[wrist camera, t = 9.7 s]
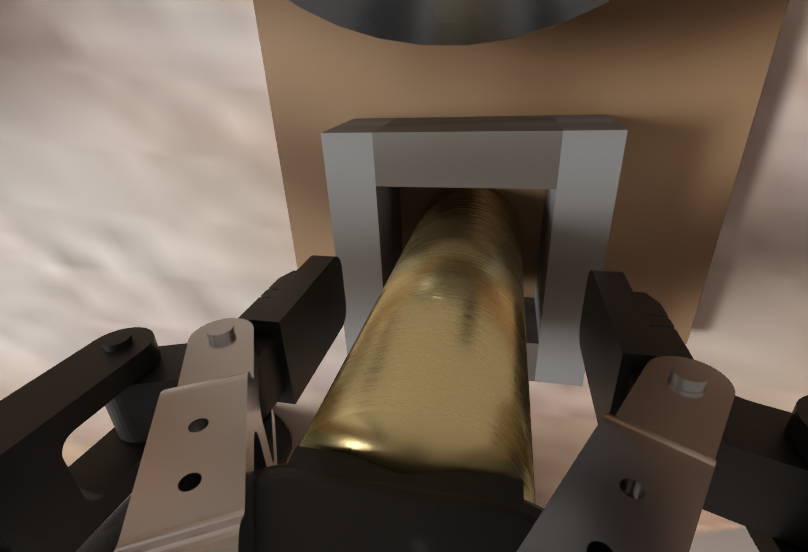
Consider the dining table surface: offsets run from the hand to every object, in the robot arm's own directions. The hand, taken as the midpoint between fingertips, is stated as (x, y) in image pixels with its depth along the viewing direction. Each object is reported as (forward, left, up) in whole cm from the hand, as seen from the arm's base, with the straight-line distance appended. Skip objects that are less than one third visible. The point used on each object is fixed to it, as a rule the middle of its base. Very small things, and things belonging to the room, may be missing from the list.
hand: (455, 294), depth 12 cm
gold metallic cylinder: (0, 0, -5) cm, 5 cm away
